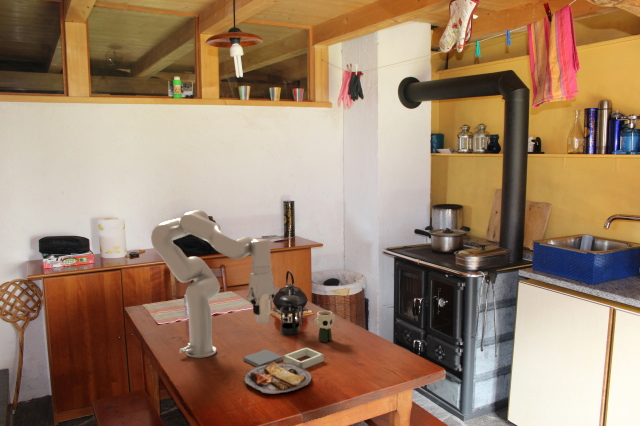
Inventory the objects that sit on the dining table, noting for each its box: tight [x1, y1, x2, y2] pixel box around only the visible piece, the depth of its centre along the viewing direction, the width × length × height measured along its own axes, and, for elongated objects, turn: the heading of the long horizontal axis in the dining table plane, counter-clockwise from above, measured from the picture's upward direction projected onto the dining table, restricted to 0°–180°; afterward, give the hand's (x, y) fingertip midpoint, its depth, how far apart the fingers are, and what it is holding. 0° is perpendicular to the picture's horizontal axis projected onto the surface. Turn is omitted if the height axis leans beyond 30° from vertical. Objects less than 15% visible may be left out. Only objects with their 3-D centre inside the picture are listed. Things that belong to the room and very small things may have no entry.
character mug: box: [313, 310, 336, 343], centre depth 250 cm, size 11×7×13 cm, turn 121°
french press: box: [279, 284, 304, 337], centre depth 260 cm, size 12×9×23 cm
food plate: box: [243, 362, 312, 395], centre depth 209 cm, size 25×23×4 cm
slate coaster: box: [242, 349, 284, 367], centre depth 229 cm, size 12×11×2 cm
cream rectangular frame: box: [283, 347, 324, 370], centre depth 227 cm, size 12×10×3 cm
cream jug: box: [255, 293, 272, 324], centre depth 225 cm, size 8×6×12 cm
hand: (262, 312), depth 226 cm, fingers closed on cream jug, 5 cm apart
